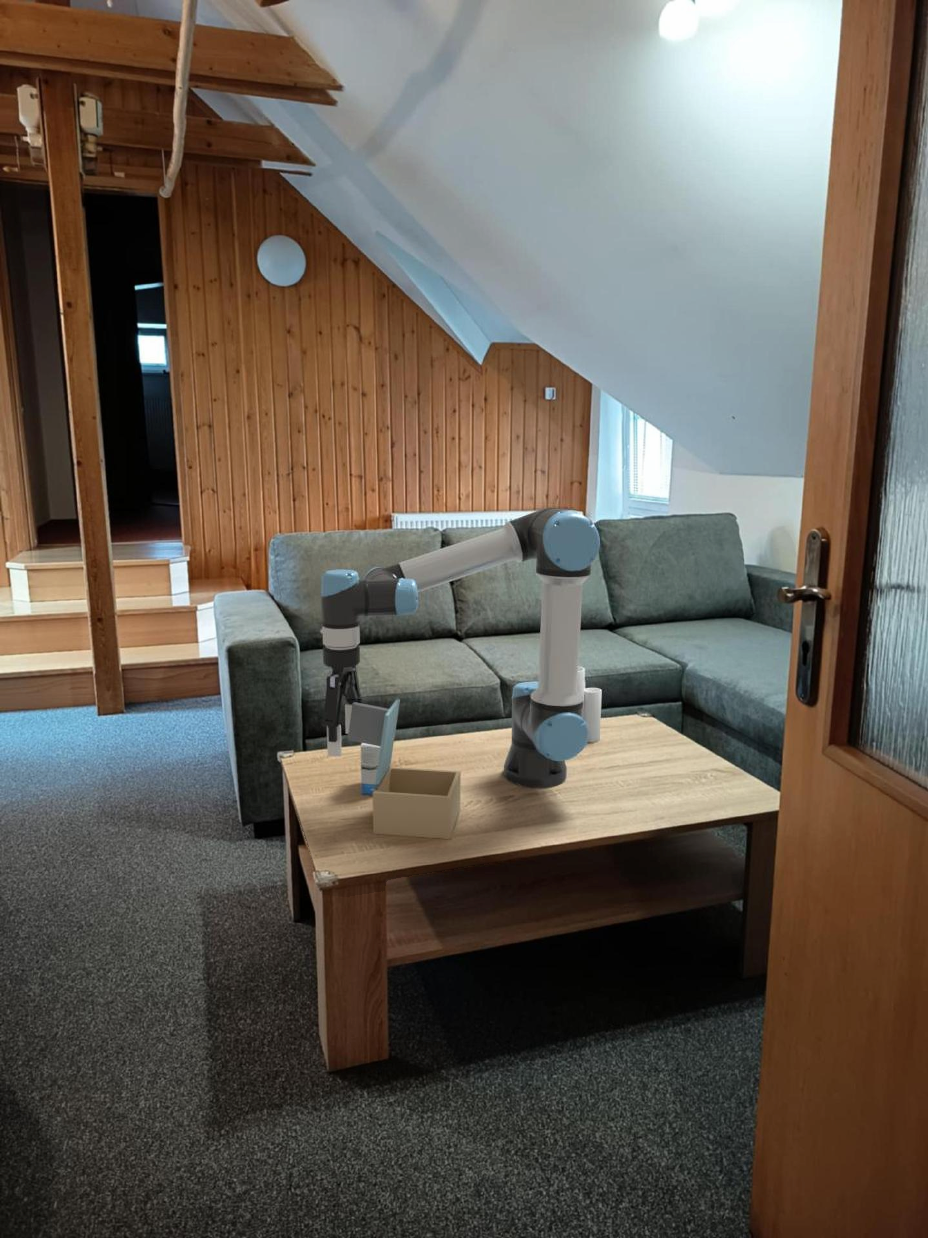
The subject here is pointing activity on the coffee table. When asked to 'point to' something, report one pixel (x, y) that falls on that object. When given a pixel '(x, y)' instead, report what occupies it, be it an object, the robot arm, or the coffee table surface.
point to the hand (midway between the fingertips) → (343, 744)
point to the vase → (590, 706)
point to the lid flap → (375, 732)
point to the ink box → (369, 767)
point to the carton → (417, 803)
